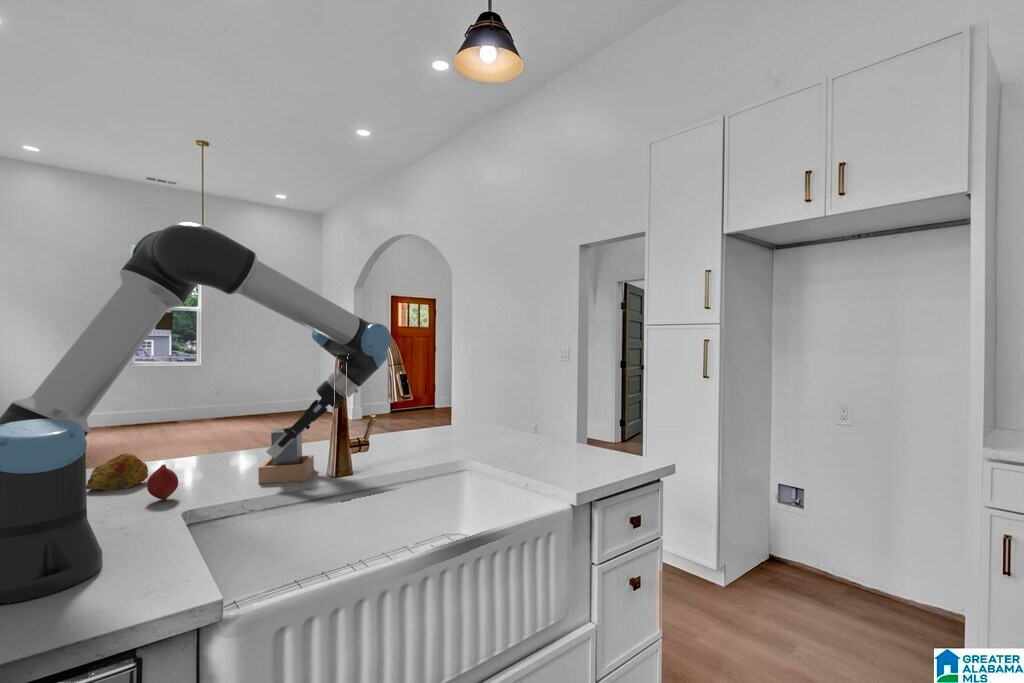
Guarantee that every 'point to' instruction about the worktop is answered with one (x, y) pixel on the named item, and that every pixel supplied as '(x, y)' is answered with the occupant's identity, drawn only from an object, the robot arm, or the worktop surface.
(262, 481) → the tray
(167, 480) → the onion
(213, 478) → the worktop surface
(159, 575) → the worktop surface
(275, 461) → the block
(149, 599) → the worktop surface
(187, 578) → the worktop surface
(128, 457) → the rock
